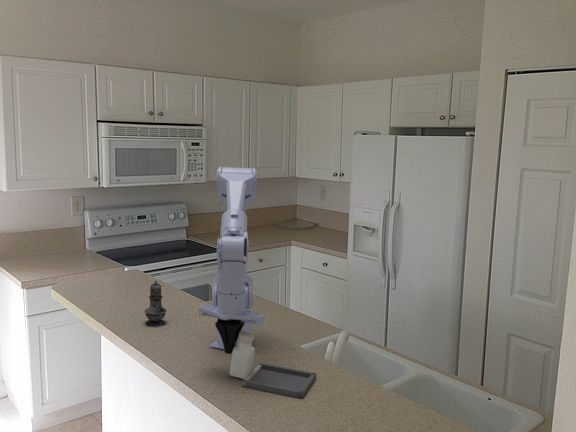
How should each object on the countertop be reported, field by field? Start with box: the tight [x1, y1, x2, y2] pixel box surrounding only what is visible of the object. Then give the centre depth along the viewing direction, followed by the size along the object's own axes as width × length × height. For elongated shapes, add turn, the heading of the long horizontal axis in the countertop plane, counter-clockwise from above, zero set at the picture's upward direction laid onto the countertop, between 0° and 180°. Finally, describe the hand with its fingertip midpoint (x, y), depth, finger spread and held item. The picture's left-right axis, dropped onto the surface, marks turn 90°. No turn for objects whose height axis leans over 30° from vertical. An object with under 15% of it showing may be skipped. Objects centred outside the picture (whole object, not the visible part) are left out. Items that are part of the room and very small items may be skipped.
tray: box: [241, 362, 317, 400], centre depth 113 cm, size 10×13×1 cm
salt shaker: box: [143, 280, 168, 328], centre depth 144 cm, size 6×6×12 cm
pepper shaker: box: [229, 331, 255, 380], centre depth 114 cm, size 4×4×10 cm
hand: (229, 351), depth 115 cm, fingers closed
